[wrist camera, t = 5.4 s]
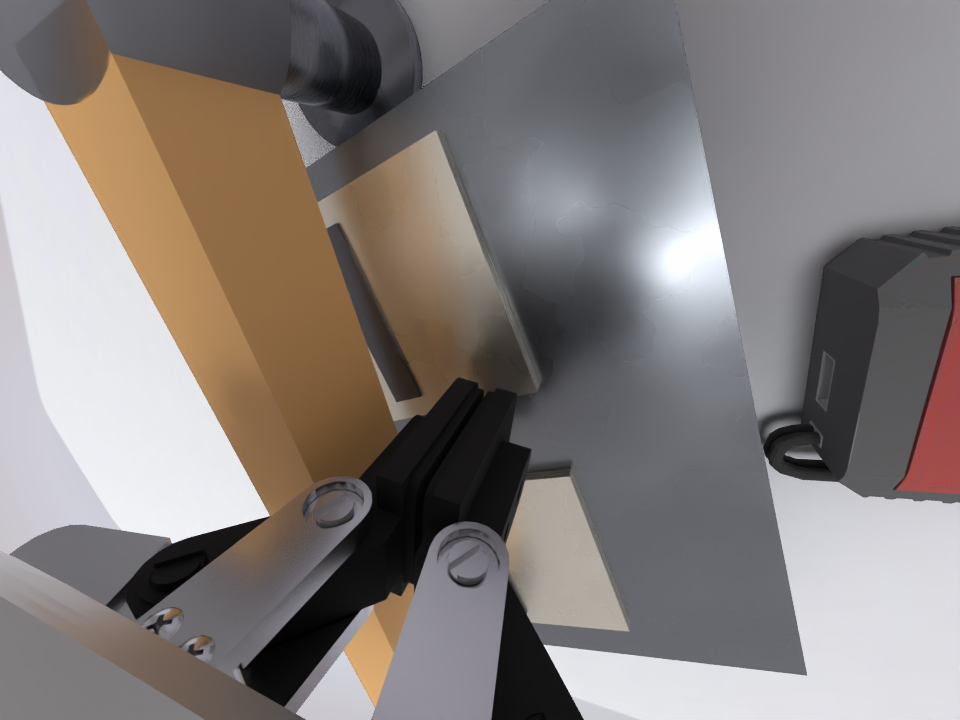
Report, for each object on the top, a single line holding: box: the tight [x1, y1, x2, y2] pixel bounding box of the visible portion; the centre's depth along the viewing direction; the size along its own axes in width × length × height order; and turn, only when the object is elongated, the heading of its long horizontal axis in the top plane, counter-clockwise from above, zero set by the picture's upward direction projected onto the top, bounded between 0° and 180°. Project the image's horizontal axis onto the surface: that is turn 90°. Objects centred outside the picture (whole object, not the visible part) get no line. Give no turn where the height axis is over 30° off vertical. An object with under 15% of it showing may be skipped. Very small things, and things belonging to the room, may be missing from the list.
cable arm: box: [0, 0, 414, 707], centre depth 10 cm, size 26×4×4 cm, turn 13°
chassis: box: [306, 0, 807, 675], centre depth 14 cm, size 16×20×4 cm
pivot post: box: [280, 0, 422, 147], centre depth 10 cm, size 4×4×4 cm
